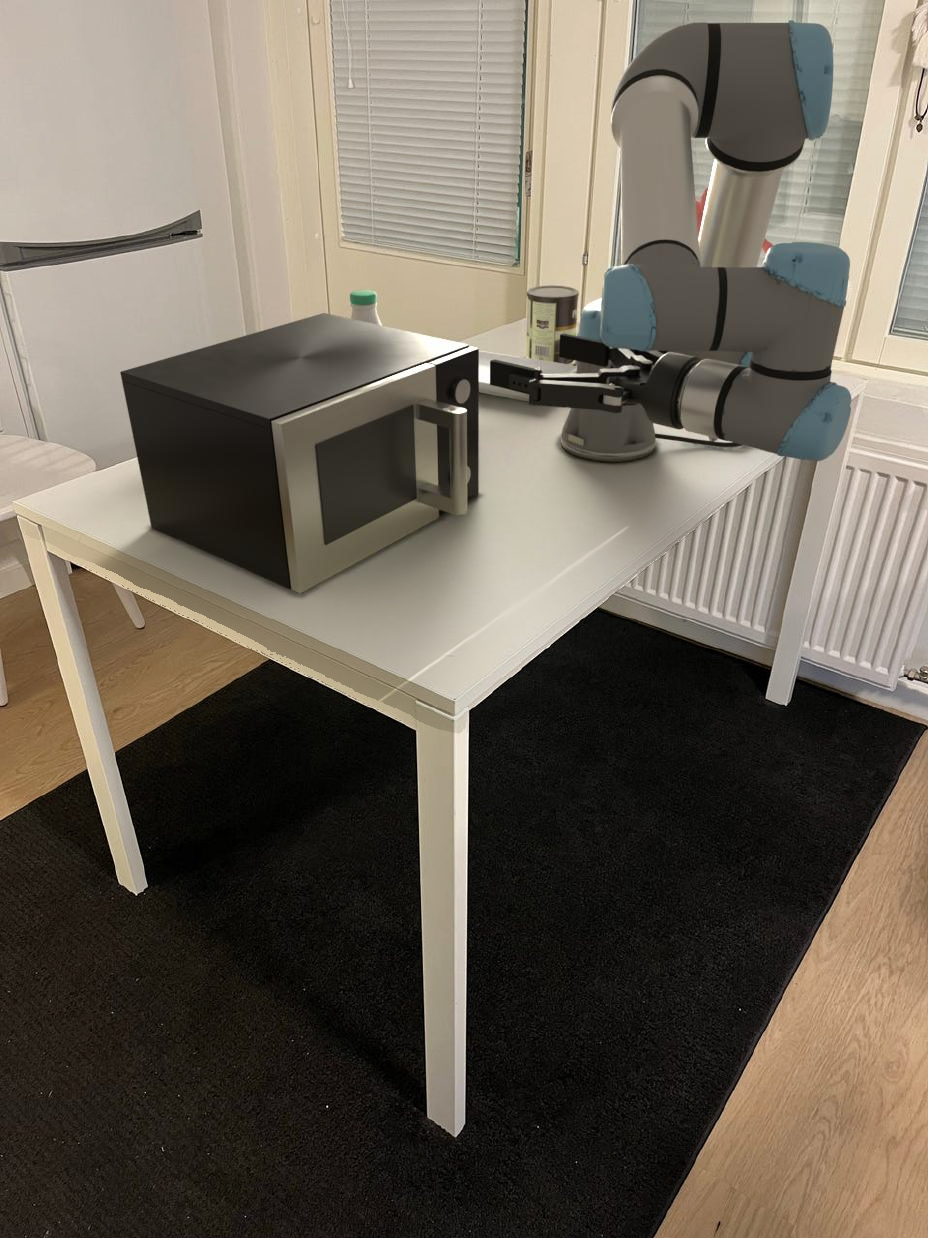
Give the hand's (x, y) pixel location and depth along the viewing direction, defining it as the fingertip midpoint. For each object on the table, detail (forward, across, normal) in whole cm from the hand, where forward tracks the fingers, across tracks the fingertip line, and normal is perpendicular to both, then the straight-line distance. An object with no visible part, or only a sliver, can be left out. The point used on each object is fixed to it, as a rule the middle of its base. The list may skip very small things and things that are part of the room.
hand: (527, 357), depth 111 cm
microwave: (+30, -7, -26) cm, 40 cm away
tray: (+47, +52, -26) cm, 75 cm away
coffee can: (+45, +71, -26) cm, 88 cm away
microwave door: (+13, -12, -26) cm, 31 cm away
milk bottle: (+56, +29, -26) cm, 68 cm away
